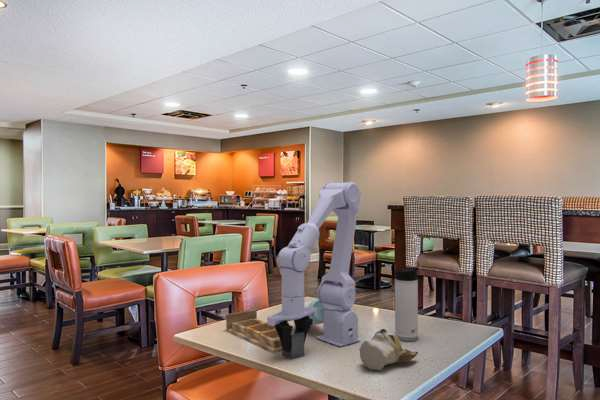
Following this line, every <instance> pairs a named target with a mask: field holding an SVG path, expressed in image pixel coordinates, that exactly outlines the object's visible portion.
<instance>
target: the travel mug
mask: <svg viewBox="0 0 600 400" xmlns="http://www.w3.org/2000/svg"><path fill="white" fill-rule="evenodd" d="M418 271H420V267H418V266H416V267H403V268H401V267H400V268H397V269H395V271H394V275H395V276H394V334H395V335H396V336H397V337H398V338H399V340H400V342H408V341H410V342H416V341H417V340H418V339H419V333H418V332H419V319H418V318H419V315H418V314H419V313H418V312H419V308H418V307H419V305H418V304H419V297H418V296H419V295H418V294H419V292H418V291H419V287H418V286H419V285H418V284H419V283H418V281H419V280H418Z"/></svg>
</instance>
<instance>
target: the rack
mask: <svg viewBox="0 0 600 400" xmlns="http://www.w3.org/2000/svg"><path fill="white" fill-rule="evenodd" d="M257 313H258V311H257V309H256V308H252V309H247V310H242V311H236V312H231V313H228V314H227V313H226V314H225V315H226V317H225V318H226V320H225V321H226V322H225V324H226V327H225V328H226V330H225V331H226V332H228V333H230V334H231V335H234V336H236V337H239V338H241V339H243V340H245V341H247V342H249V343H251V344H254V346H255V345H256V346H257V347H260V348H262V349H264V350H265V351H269V352H270V353H272V354H275V353H278V352H282V345H281V341H280V338H279V335H278V333H277V331H276V329H275V327H274V326H270V325H268V324H267V321H263V320H260V319H258V317H257V316H258V315H257Z"/></svg>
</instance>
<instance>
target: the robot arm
mask: <svg viewBox="0 0 600 400" xmlns="http://www.w3.org/2000/svg"><path fill="white" fill-rule="evenodd" d="M318 194H319V195H318V196H319V200H318V201H317V204H316V205H315V207H314V209H313V211H312V213H311V215H310V217H309V218H308V221H307V222H306V223H302V224H300V225H299V226H298V227H297V231H296V232H295V234H294V235H293V237H292V239H291V240H290V242H289V243H288V245H287V246H285V247H283V248H282V249H280V251H279V252H278V255H277V258H276V265H277V267H278V268H279V274H280V276H281V310H280V312H277V313H274V314H272V315H269V316H266V317H267V318H266V319H267V321H266V322H267V324H268V325H270V326H274V327H275V329H276V331H277V333H278V335H279V338H280V341H281V345H282V350H283V351H285V352H289V351H290V338H291V332H292V329H293V328H294V327H295V329H298V330H301V331H303V332H304V345H305V343H306V339H307V337H308V336H307V335H308V333H309V331H310V329H311V327H312V326H313V325H312V323H313V320H312V319H310V318H309V317H310V316H317V308H314V307H310V308H304V303H305V270H306V269H308V267H309V265H310V259H311V258H310V257H311V256H312V251H313V248H314V246H315V245H316V243H317V241H318V239H319V238H320V228H321V226H322V225H323V224H324V222H325V221H326V220H327V219H328V217H329V215H330V214H331V213H332V212H333V214H335V215H336V217H337V222H336V228H335V235H334V240H333V247H332V253H331V254H332V255H331V260H330V266H329V271H328V272H326V273H325V274H324V275H323V276H322V277H321V281H320V284H319V286H318V288H317V292H316V293H317V294H316V296H317V299H318V300H319V301H320V302H321V303H322V307H324V323H323V334H322V335H321V334H320V335H317V337H316V338H317V339H319V340H321V341H323V342H326V343H330V344H332V345H334V346H337V347H343V346H348V345H350V344H353V343H357V342H360V341H361V338H359V319H358V316H357V313H355V312H354V311H352V310H351V309H353V308H352V307H353V306H354V304H355V302H356V298H357V297H356V296H357V295H356V282H355V280H354V279H353V278H352V276H351V275H350V274H349V273H350V266H351V259H352V251H353V246H354V238H355V232H356V225H357V218H358V213H359V207H360V203H361V201H360V200H361V196H362V195H361V194H362V192H361V191H360V189H359V186H358V184H356V183H355V182H354V181H349V182H326V183H324V184H323V186H322V188H321V189H320V191H319V192H318ZM291 321H293V322H294V323H293V324H294V326H293V325H291V324H290V323H289V322H291Z"/></svg>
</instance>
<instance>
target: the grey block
mask: <svg viewBox="0 0 600 400" xmlns="http://www.w3.org/2000/svg"><path fill="white" fill-rule="evenodd" d="M281 355H282V356H284V357H286V358H287V359H290V360H294V359H297V358H301V357H304V356H305V344H304V332H303V331H301V330H298V329H295V328H294V327H293V328H292V332H291V338H290V351H289V352H285V351H283V350H282V351H281Z"/></svg>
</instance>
